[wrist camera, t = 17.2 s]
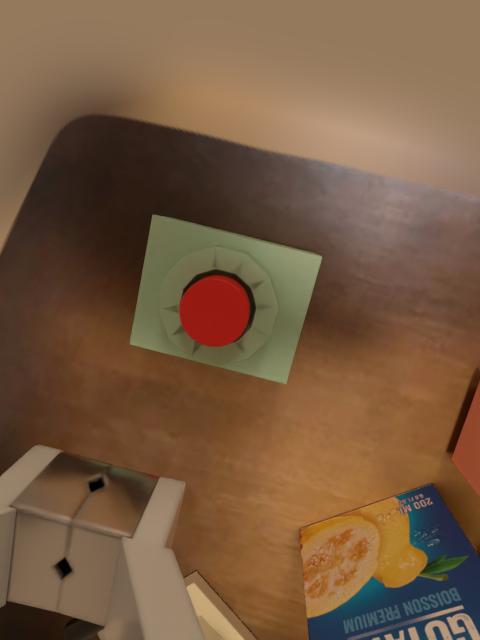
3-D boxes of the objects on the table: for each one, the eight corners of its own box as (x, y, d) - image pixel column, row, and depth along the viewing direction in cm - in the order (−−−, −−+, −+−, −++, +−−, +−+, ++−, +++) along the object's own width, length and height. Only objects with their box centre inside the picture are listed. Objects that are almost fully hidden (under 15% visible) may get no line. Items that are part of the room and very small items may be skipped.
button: (180, 329, 22) (173, 337, 20) (193, 267, 21) (186, 270, 19) (242, 345, 22) (239, 354, 20) (257, 283, 21) (256, 288, 19)
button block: (150, 328, 28) (118, 353, 22) (170, 217, 26) (141, 213, 20) (284, 362, 28) (287, 396, 22) (314, 252, 26) (327, 258, 20)
